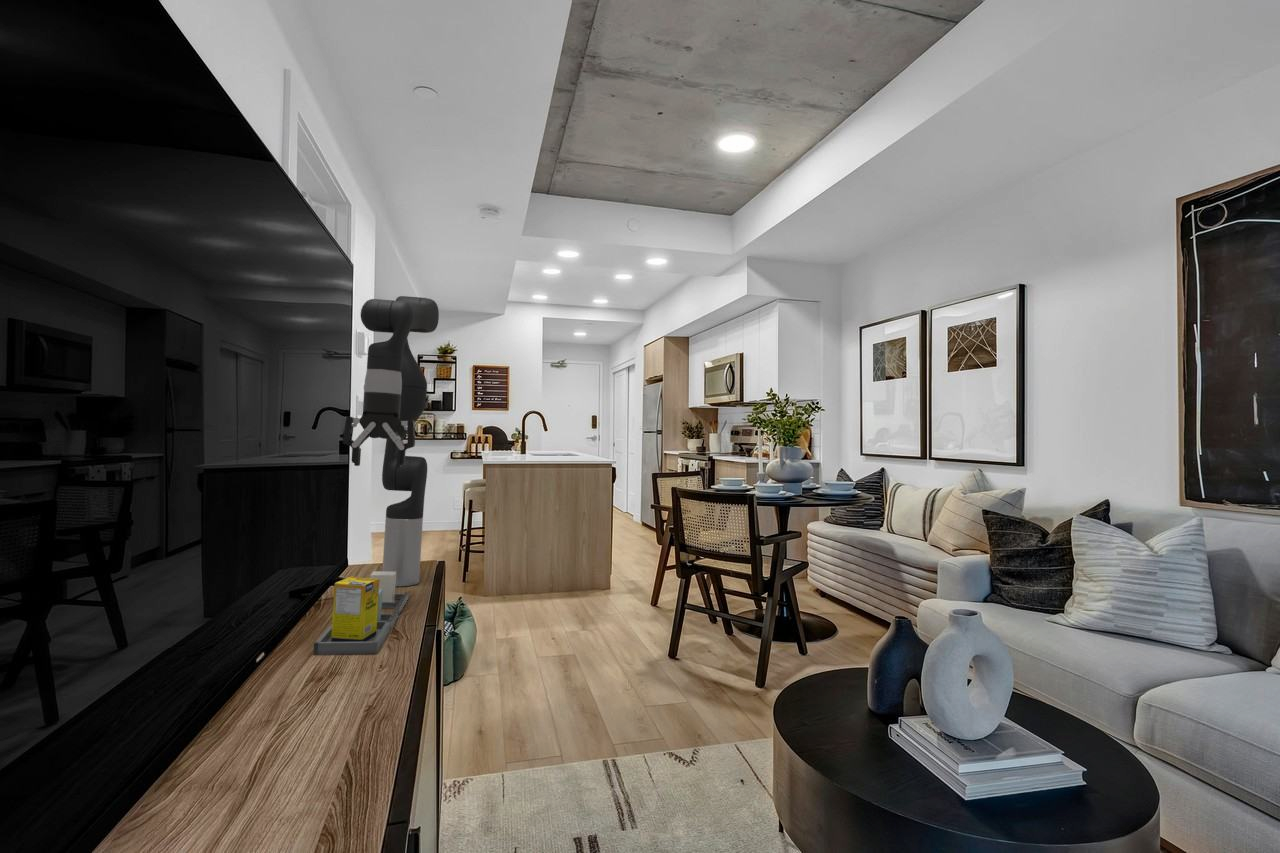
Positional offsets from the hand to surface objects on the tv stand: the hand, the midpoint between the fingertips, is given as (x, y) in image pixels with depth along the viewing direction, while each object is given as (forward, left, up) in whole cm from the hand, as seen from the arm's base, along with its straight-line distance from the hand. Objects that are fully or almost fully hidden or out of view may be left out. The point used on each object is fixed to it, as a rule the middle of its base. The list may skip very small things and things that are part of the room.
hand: (378, 466), depth 138 cm
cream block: (-9, +1, -32) cm, 33 cm away
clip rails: (-1, +1, -32) cm, 32 cm away
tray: (+18, +1, -32) cm, 37 cm away
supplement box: (+18, +1, -32) cm, 36 cm away
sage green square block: (+8, +1, -32) cm, 33 cm away
